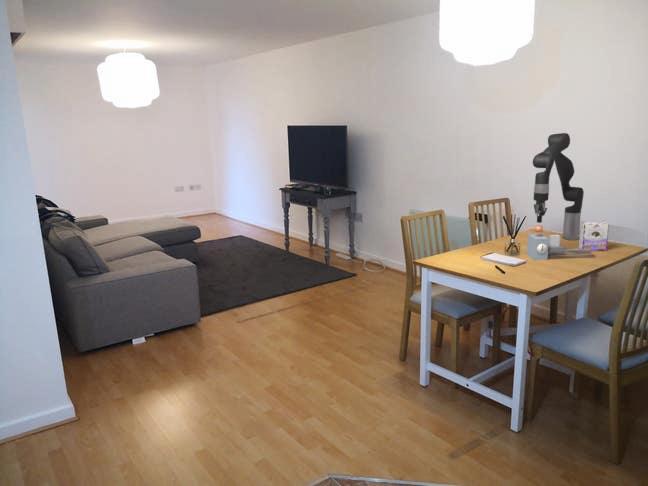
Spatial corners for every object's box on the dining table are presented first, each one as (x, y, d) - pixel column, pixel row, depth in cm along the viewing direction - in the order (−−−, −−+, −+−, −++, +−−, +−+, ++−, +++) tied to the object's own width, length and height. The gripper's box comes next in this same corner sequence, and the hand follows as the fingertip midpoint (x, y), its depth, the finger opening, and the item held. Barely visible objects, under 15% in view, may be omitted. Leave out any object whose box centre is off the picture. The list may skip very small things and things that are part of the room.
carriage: (543, 248, 286) (544, 233, 284) (557, 247, 286) (558, 233, 284) (549, 251, 278) (550, 237, 276) (563, 251, 278) (564, 236, 276)
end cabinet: (526, 254, 289) (527, 234, 286) (538, 253, 289) (540, 233, 286) (535, 260, 277) (536, 239, 274) (547, 259, 277) (549, 238, 274)
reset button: (533, 230, 282) (533, 225, 281) (540, 230, 282) (541, 225, 281) (536, 232, 278) (536, 227, 277) (543, 232, 278) (543, 226, 277)
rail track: (540, 254, 288) (540, 248, 287) (586, 252, 287) (586, 247, 287) (547, 259, 278) (548, 253, 278) (594, 257, 278) (595, 251, 277)
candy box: (602, 248, 296) (605, 221, 292) (606, 250, 290) (609, 223, 286) (578, 248, 298) (580, 221, 294) (581, 251, 292) (584, 223, 288)
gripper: (529, 190, 281) (527, 220, 285) (539, 193, 268) (537, 225, 272) (543, 189, 281) (541, 220, 285) (553, 193, 268) (550, 224, 272)
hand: (539, 222), depth 279 cm, fingers closed
